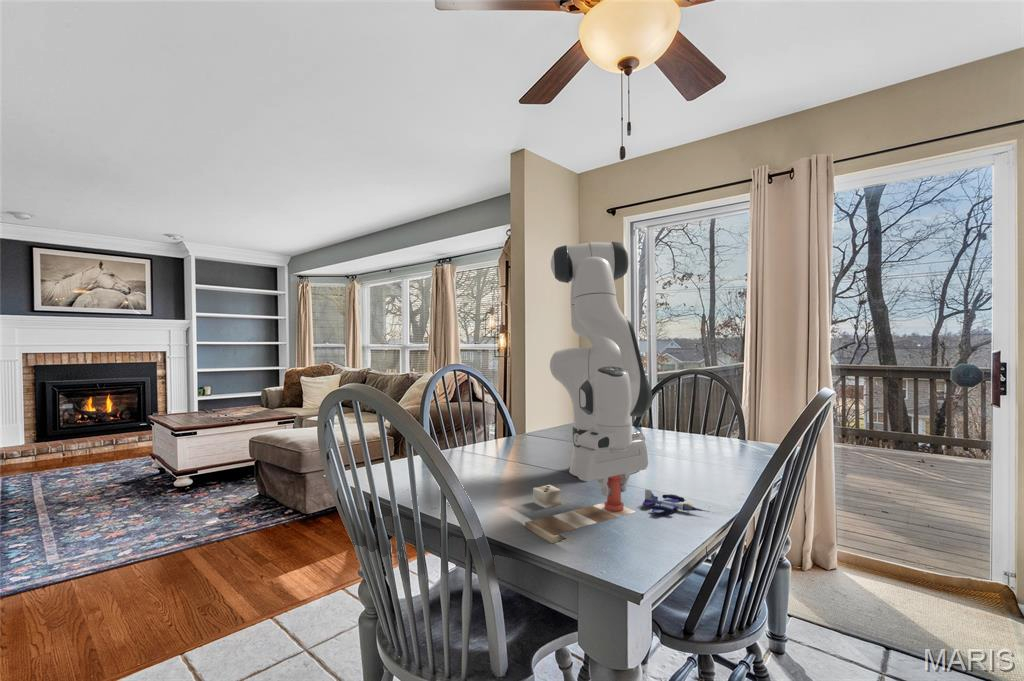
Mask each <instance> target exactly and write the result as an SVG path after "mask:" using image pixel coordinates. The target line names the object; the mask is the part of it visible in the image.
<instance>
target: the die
mask: <svg viewBox="0 0 1024 681" xmlns="http://www.w3.org/2000/svg"><path fill="white" fill-rule="evenodd" d="M532 503H533V504H535V505H537V506H539V507H541V508H544V509H547V508H551V507H554V506H555V507H556V506H559V505H562V489H561V488H558V487H555V486H554V485H552V484H547V485H542V486H537V487H532Z"/></svg>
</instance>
